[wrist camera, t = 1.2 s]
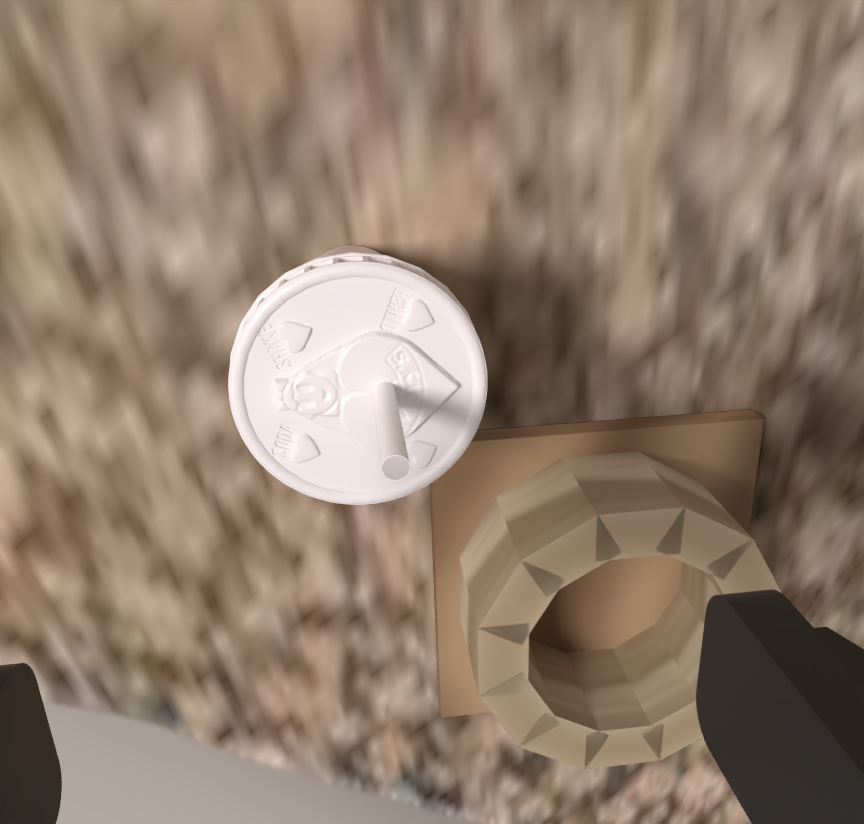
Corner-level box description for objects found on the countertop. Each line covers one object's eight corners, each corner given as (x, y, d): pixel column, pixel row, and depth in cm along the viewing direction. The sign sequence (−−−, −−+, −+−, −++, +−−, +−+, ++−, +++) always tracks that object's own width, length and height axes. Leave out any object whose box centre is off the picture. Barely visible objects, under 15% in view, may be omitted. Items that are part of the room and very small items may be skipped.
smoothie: (443, 377, 30) (526, 596, 17) (269, 387, 29) (216, 622, 16) (440, 201, 27) (535, 297, 14) (251, 208, 27) (170, 315, 14)
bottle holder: (751, 409, 31) (831, 469, 26) (718, 671, 36) (780, 764, 31) (427, 434, 30) (446, 502, 25) (438, 701, 35) (455, 803, 30)
